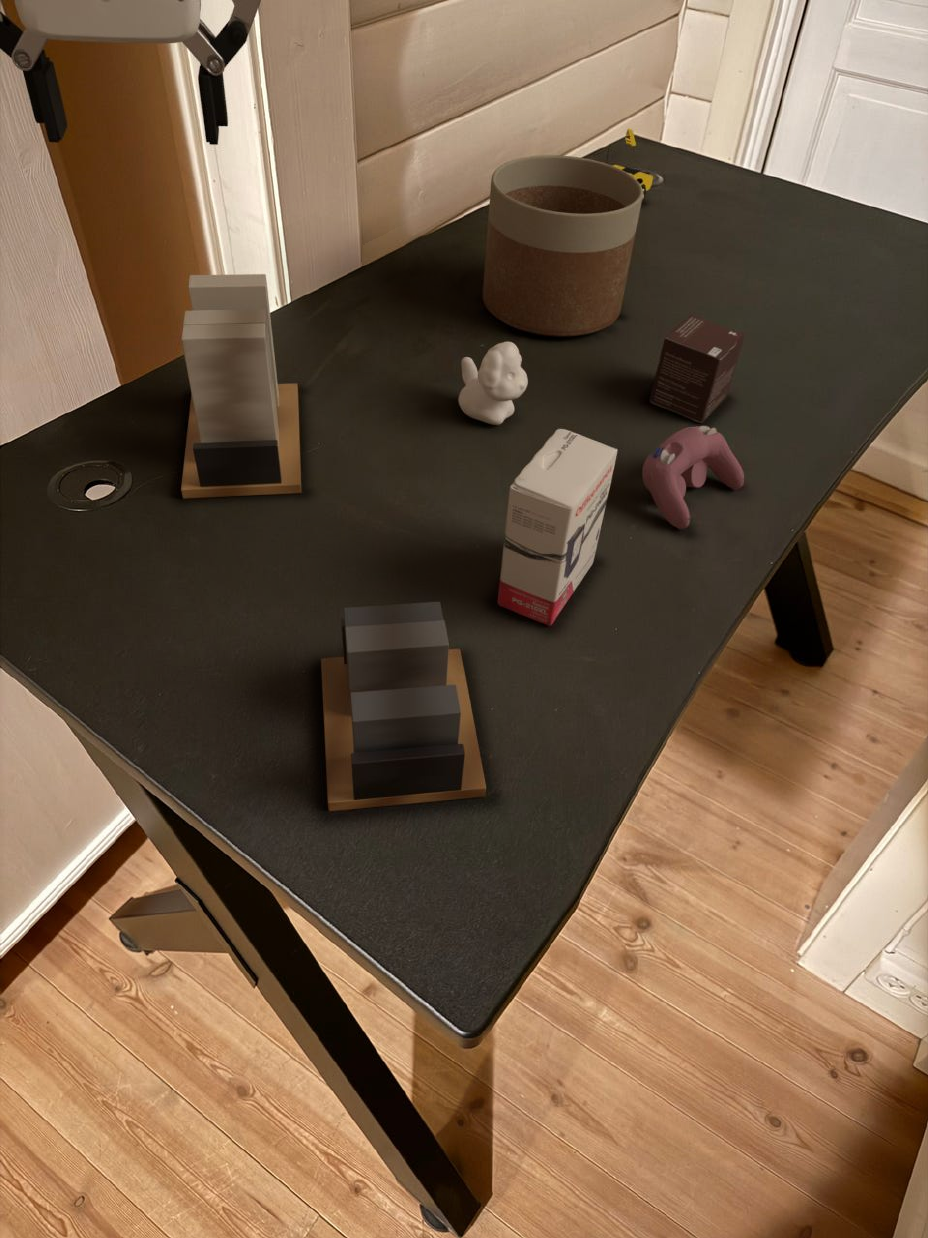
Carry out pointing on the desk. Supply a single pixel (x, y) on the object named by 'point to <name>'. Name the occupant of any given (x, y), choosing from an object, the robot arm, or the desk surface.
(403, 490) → the desk surface
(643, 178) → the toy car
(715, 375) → the box
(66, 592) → the desk surface
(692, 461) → the video game controller
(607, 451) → the ink box
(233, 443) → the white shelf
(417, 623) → the grey shelf
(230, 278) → the white book
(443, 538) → the desk surface
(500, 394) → the figurine
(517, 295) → the planter
